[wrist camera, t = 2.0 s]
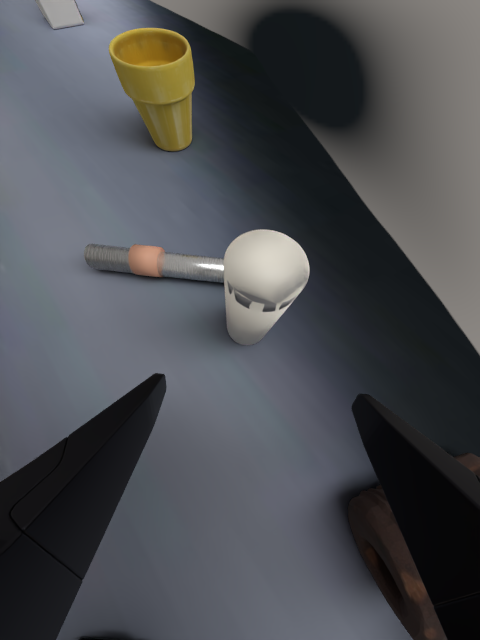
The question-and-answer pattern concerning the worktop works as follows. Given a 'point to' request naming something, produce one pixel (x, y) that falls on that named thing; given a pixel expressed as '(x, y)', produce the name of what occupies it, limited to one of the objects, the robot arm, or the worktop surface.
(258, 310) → the white grey cylinder
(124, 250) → the grey steel rod
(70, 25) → the medicine bottle
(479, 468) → the dark brown lump
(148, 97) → the plant pot
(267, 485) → the worktop surface
